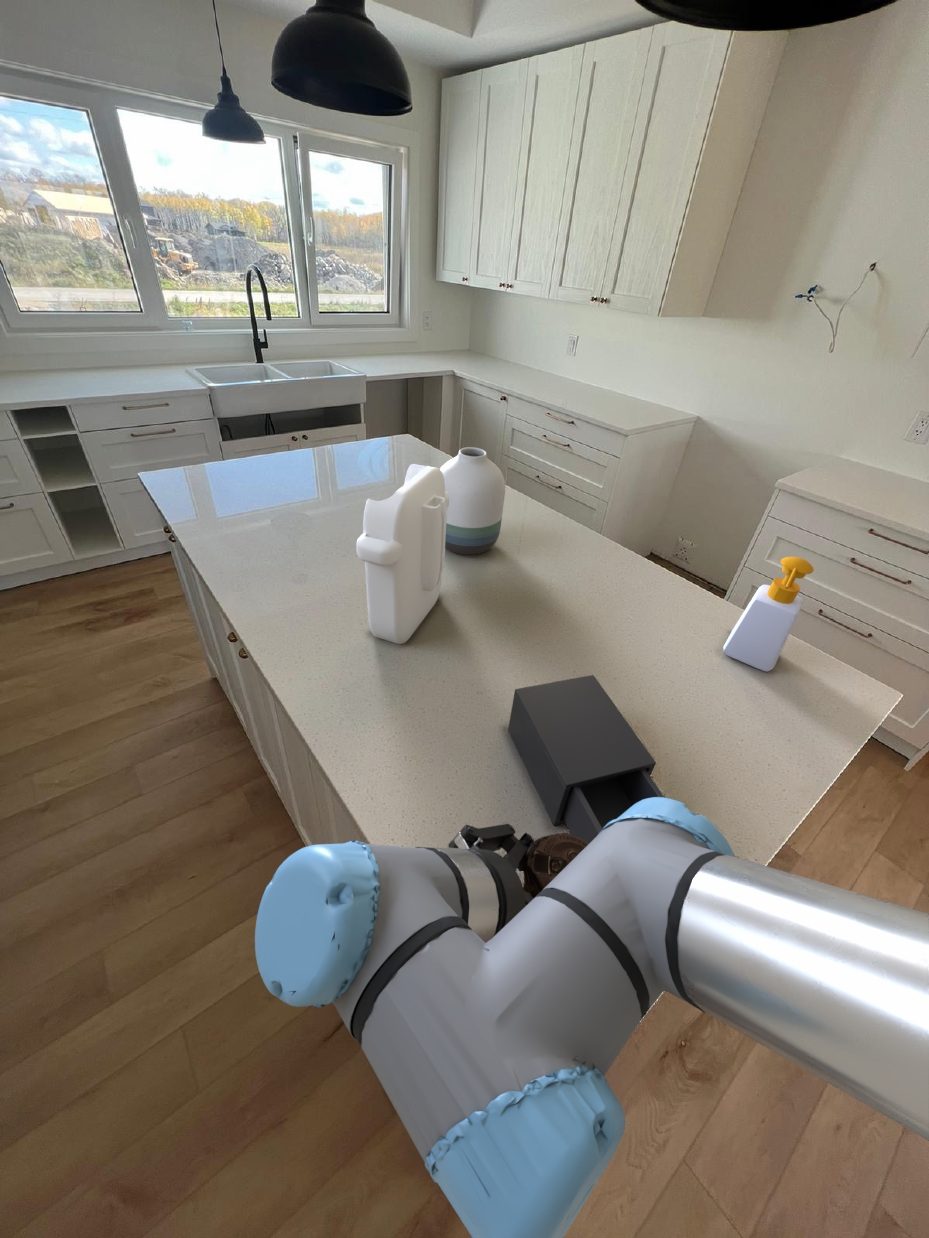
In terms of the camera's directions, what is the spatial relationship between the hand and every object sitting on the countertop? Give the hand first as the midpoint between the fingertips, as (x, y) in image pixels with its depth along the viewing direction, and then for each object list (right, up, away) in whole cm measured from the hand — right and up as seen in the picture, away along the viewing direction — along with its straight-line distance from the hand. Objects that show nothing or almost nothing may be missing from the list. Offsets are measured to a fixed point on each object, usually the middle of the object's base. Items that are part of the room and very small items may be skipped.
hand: (578, 892), depth 55 cm
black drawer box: (+4, +7, +25) cm, 26 cm away
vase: (-12, +48, +78) cm, 92 cm away
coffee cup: (-3, -5, +1) cm, 6 cm away
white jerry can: (-23, +30, +52) cm, 64 cm away
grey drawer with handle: (+9, -2, +13) cm, 16 cm away
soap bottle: (+45, +21, +48) cm, 69 cm away
